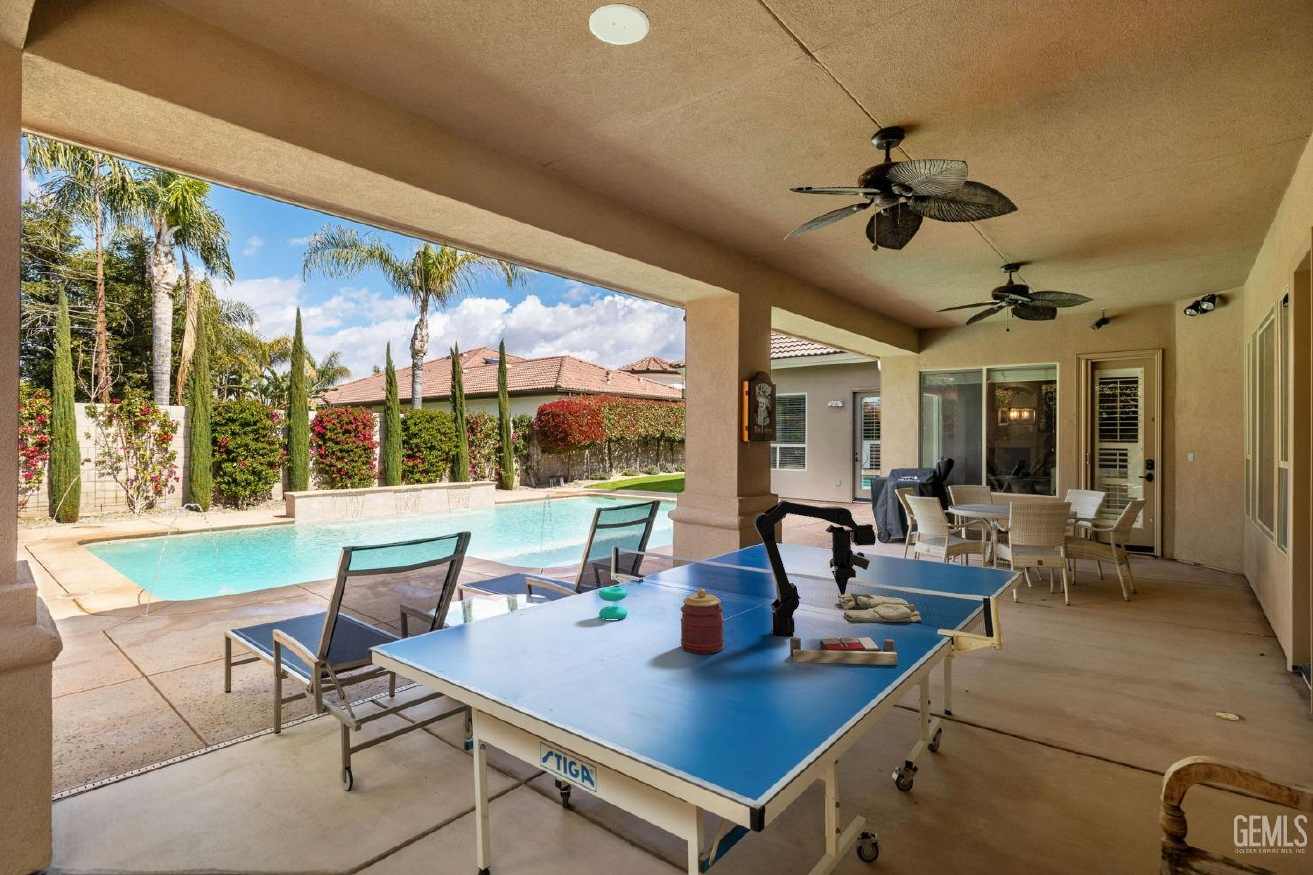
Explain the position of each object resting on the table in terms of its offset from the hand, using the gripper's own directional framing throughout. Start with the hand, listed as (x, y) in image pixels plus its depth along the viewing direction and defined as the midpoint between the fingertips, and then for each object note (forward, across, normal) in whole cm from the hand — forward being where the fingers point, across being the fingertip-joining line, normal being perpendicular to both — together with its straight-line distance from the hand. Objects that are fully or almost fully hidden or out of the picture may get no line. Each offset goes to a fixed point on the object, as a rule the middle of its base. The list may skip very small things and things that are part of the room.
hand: (842, 594), depth 211 cm
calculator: (+13, -22, +1) cm, 26 cm away
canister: (+12, -21, +44) cm, 50 cm away
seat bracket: (+12, -27, +3) cm, 30 cm away
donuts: (+12, +9, +78) cm, 79 cm away
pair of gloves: (+13, +27, -15) cm, 34 cm away
